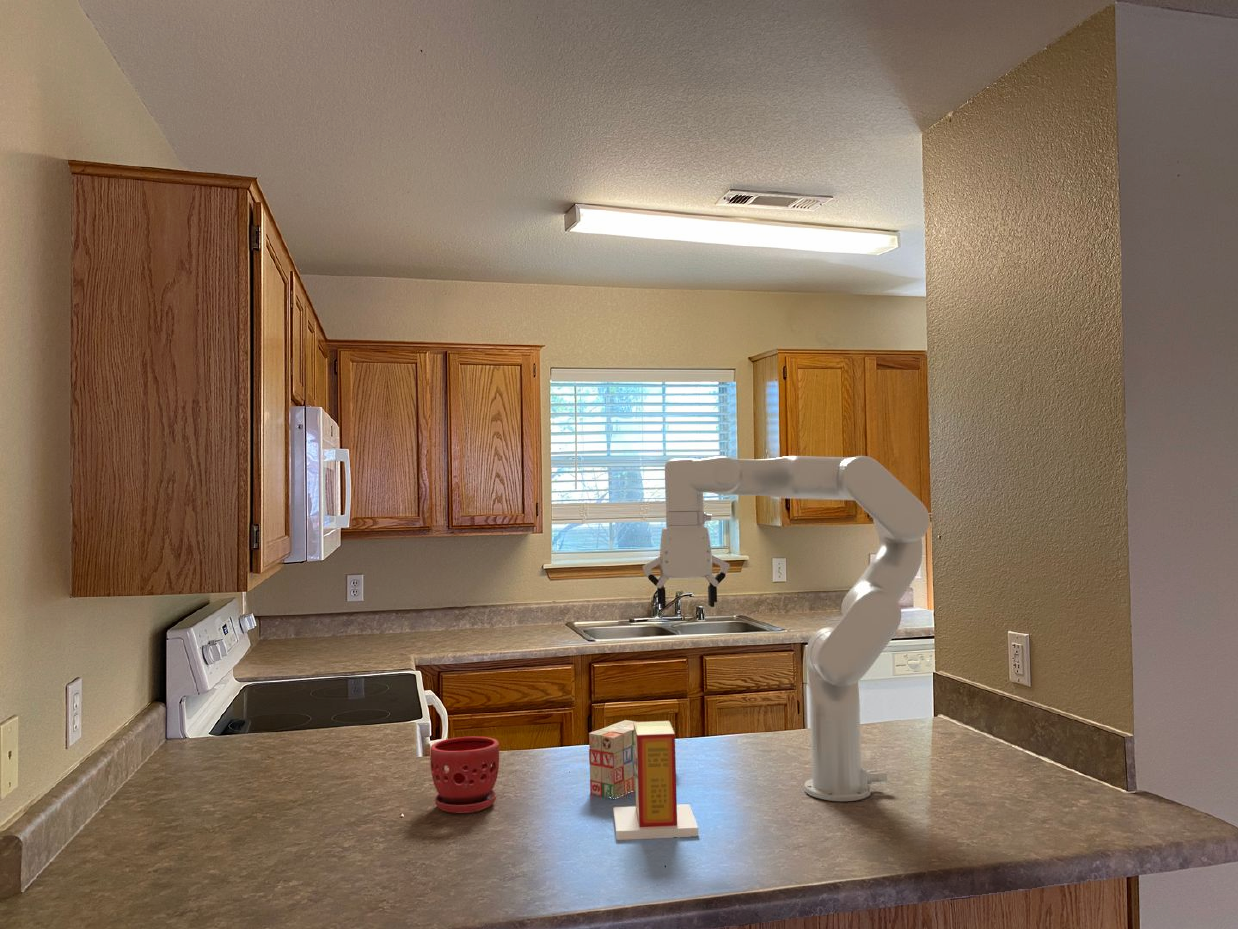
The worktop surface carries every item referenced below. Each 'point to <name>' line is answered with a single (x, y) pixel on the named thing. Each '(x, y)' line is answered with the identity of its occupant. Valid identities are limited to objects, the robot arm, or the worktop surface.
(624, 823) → the cutting board
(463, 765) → the plant pot
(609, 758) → the stack of blocks
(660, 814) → the baking soda box
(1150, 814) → the worktop surface
